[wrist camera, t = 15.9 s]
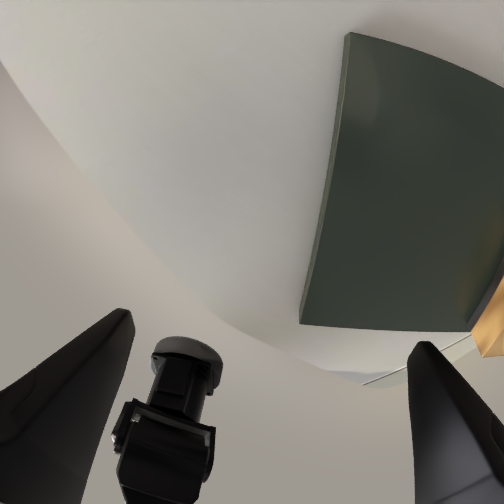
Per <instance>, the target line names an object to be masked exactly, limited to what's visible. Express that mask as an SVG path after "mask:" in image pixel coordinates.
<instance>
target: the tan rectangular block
mask: <svg viewBox="0 0 504 504" xmlns="http://www.w3.org/2000/svg"><path fill="white" fill-rule="evenodd" d="M467 326H468V328H469V330H470V332H471V334H472V336H473V338H474V340H475V343H476V345H477V347H478V349H479V351H480V354H481V356H482V357H483V358H484V357H495V356H504V257H503V259H502V262H501V264H500V266H499V268H498V270H497V272H496V274H495V276H494V278H493V280H492V281H491V283H490V285H489V287H488V289H487V291H486V293H485V294H484V296H483V298H482V300H481V301H480V303H479V305H478V307H477V308H476V310H475V312H474V313H473V315H472V317H471V318H470V320H469V321H468V323H467Z"/></svg>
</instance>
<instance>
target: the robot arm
mask: <svg viewBox="0 0 504 504" xmlns="http://www.w3.org/2000/svg"><path fill="white" fill-rule="evenodd" d="M134 336H135V326H134V322H133V318H132V315H131V312H130V311H129V310H126V309H122V308H117V309H115V310H114V311H112V312H111V313H109V314H108V315H107V316H105V317H104V318H102V319H101V320H100V321H98V322H97V323H95V324H94V325H93V326H91V327H90V328H88V329H87V330H86V331H84V332H83V333H81V334H80V335H79V336H77V337H76V338H75V339H73V340H72V341H71V342H69V343H68V344H66V345H65V346H64V347H62V348H61V349H59V350H58V351H57V352H56V353H54V354H52V355H51V356H50V357H49V358H47V359H46V360H44V361H43V362H42V363H40V364H39V365H38V366H36V368H34V369H32V370H31V371H30V372H28V373H27V374H25V375H24V376H23V377H21V378H20V379H18V380H17V381H16V382H14V383H13V384H11V385H10V386H8V387H6V388H5V389H3V390H2V391H0V504H81V500H82V497H83V493H84V490H85V486H86V483H87V479H88V476H89V473H90V469H91V466H92V463H93V460H94V457H95V454H96V450H97V448H98V445H99V442H100V439H101V436H102V433H103V430H104V427H105V424H106V422H107V419H108V416H109V413H110V410H111V408H112V405H113V402H114V399H115V397H116V394H117V392H118V389H119V386H120V384H121V381H122V378H123V376H124V372H125V369H126V365H127V361H128V357H129V354H130V350H131V347H132V343H133V340H134ZM151 358H152V361H153V365H154V368H155V371H156V377H155V380H154V383H153V385H152V388H151V391H150V394H149V396H148V399H147V402H146V404H145V403H142V402H140V401H138V399H135V398H133V400H132V402H125V404H124V406H123V409H122V412H121V414H120V416H119V418H118V420H117V422H116V425H115V427H114V429H113V431H112V434H111V437H112V439H113V441H114V446H115V448H114V453H115V454H118V455H120V459H119V462H118V465H117V469H116V473H117V477H118V480H119V483H120V487H121V490H122V493H123V496H124V499H125V503H124V504H194V502H195V501H196V500H197V499H198V497H199V492H200V488H201V484H202V483H204V482H206V480H207V479H208V477H209V475H210V473H211V470H212V466H213V461H214V450H215V434H216V427H213V426H207V425H204V424H200V423H199V422H200V417H201V413H202V409H203V405H204V400H205V396H206V395H207V396H212V395H213V374H212V364H211V363H209V362H204V361H198V360H192V359H187V358H181V357H176V356H171V355H166V354H161V353H156V352H154V353H152V356H151ZM407 371H408V396H409V411H410V420H411V430H412V441H413V455H414V476H415V504H504V425H503V424H502V423H501V421H500V420H499V419H498V418H497V416H496V415H495V414H494V413H493V412H492V410H491V409H490V408H489V407H488V406H487V404H486V403H485V402H484V401H483V400H482V399H481V397H480V396H479V395H478V394H477V393H476V392H475V390H474V389H473V388H472V387H471V386H470V385H469V383H468V382H467V381H466V380H465V379H464V378H463V377H462V375H461V374H460V373H459V372H458V371H457V370H456V369H455V368H454V366H453V365H452V364H451V363H450V362H449V361H448V360H447V359H446V358H445V357H444V355H443V354H442V353H441V352H440V351H439V350H438V349H437V348H436V347H435V346H434V345H433V344H432V343H431V342H429V341H420V342H418V343H417V344H416V346H415V348H414V349H413V351H412V352H411V354H410V355H409V357H408V361H407ZM132 419H133V420H135V421H134V422H133V421H132ZM136 421H138V422H136Z"/></svg>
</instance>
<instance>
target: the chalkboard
mask: <svg viewBox="0 0 504 504" xmlns="http://www.w3.org/2000/svg"><path fill="white" fill-rule="evenodd" d="M503 257H504V88H502V87H500V86H499V85H497V84H495V83H493V82H491V81H489V80H487V79H485V78H483V77H481V76H479V75H477V74H475V73H473V72H471V71H468V70H466V69H464V68H462V67H459V66H457V65H455V64H452V63H450V62H448V61H445V60H443V59H440V58H437V57H435V56H432V55H429V54H427V53H424V52H421V51H418V50H415V49H412V48H409V47H406V46H403V45H399V44H396V43H393V42H389V41H385V40H382V39H378V38H374V37H370V36H366V35H362V34H357V33H353V32H350V33H348V34H347V35H345V39H344V50H343V60H342V69H341V78H340V86H339V95H338V102H337V110H336V117H335V125H334V132H333V138H332V145H331V152H330V158H329V164H328V170H327V176H326V182H325V188H324V193H323V199H322V205H321V210H320V215H319V221H318V226H317V231H316V236H315V241H314V246H313V251H312V256H311V260H310V265H309V270H308V274H307V279H306V284H305V288H304V292H303V297H302V301H301V305H300V310H299V323H300V324H304V325H315V326H327V327H340V328H354V329H371V330H390V331H418V332H470V330H469V328H468V326H467V323H468V321H469V320H470V318H471V317H472V315H473V313H474V312H475V310H476V308H477V307H478V305H479V303H480V301H481V300H482V298H483V296H484V294H485V293H486V291H487V289H488V287H489V285H490V283H491V281H492V280H493V278H494V276H495V274H496V272H497V270H498V268H499V266H500V264H501V262H502V259H503Z"/></svg>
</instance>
